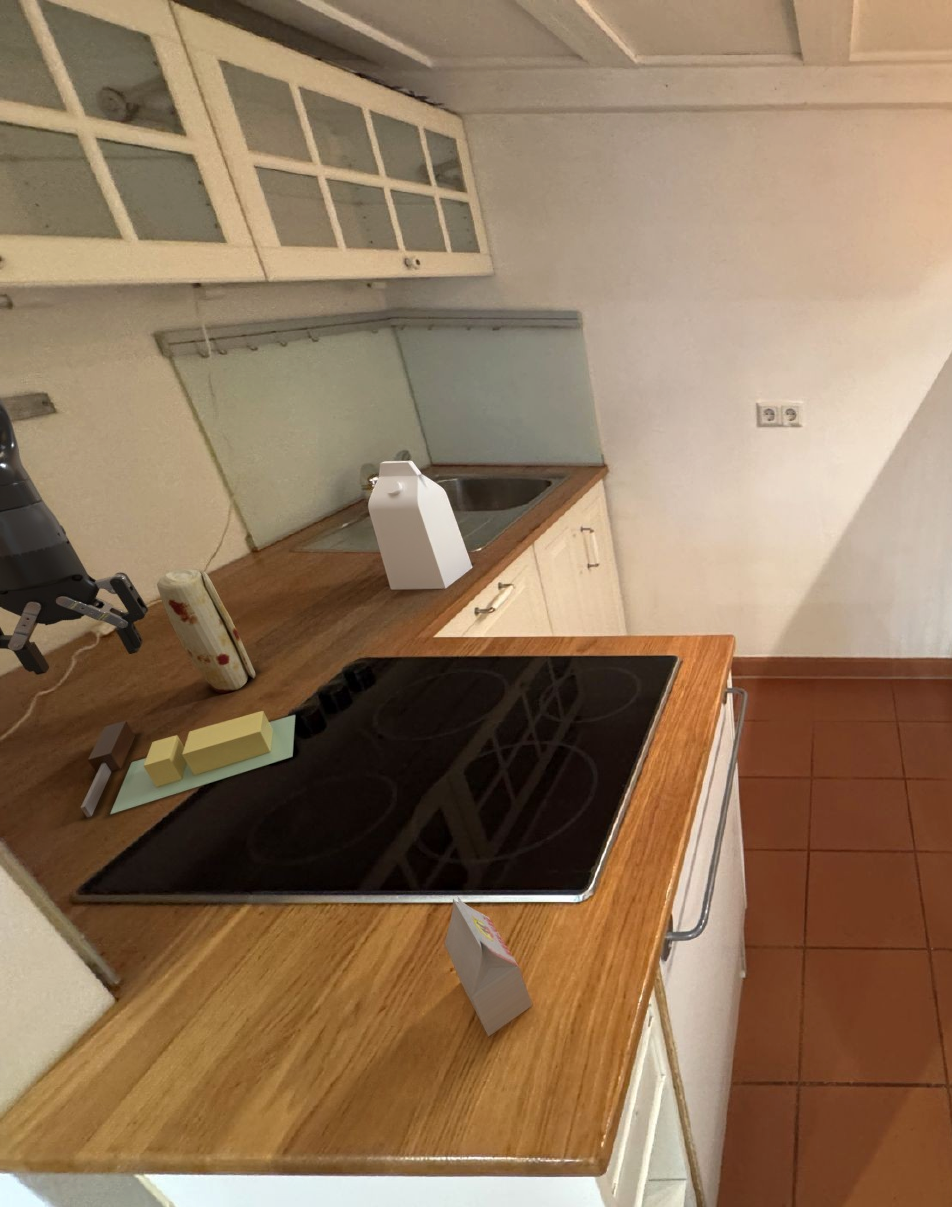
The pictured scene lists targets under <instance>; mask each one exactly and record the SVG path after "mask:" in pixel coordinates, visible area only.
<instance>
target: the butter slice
mask: <svg viewBox="0 0 952 1207" xmlns="http://www.w3.org/2000/svg"><path fill="white" fill-rule="evenodd" d="M184 747H185V745H184V744H183V743H182V741H181V739H180V738H179V736H178V734H176V735H172V736H169V737H165V738H161V739H157V740H155V741H152V743H151V745H150V748H149V750H148V752H147V756H146V757H145V758H146V760H145V763H144V765H143V766H144V768H145V769H146V771H147V773H148V774H149V776H150V778H151V779H152V781H153V782H154V784H155V786H156V787H159V786H162V785H165V784H168V783H172V782H175V781H178V780H181V779H182V777H183V774H184V770H185V767H186V763H187V762H186V760H185V758H184V757H183V755H182V753H183V750H184Z"/></svg>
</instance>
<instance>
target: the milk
mask: <svg viewBox="0 0 952 1207" xmlns="http://www.w3.org/2000/svg"><path fill="white" fill-rule="evenodd" d="M378 476H379V477H378V478H377V480H376V483H375V485H374V487H373V489H372V492H371V494H370V496H369V499H368V503H367V509H368V513H369V517H370V520H371V524H372V528H373V531H374V534H375V538H376V542H377V545H378V549H379V553H380V556H381V560H382V563H383V567H384V570H385V574H386V578H387V581H388V585H389V588H390V590H392V591H393V590H394V591H395V590H438V589H439V590H441V589H442V590H443V589H448V588H449V587H450V586H451V585H452V584H454V583H455V582H456V581H458V580H459V579H460V578H462V577H463V576H464V575H465V574H467V573H468V572H469V571H471V570H472V569H473V565H472V562H471V559H470V557H469V556H470V555H469V553H468V550H467V548H466V545H465V542H464V539H463V537H462V534H461V531H460V528H459V525H458V522H457V519H456V516H455V514H454V510H453V508H452V506H451V502H450V499H449V497H448V493H447V492H446V490H445V489H444V487H442V486H441V485H440V484H438V483H436V482H435V481H433V480H432V479H431V478H429V477H427V476H426V475H424V474H422V472H421V471H420V470H419V468H418V466H416V464H415V463H414V462H413V460H389V461H387V460H386V461H382V462H379V474H378Z"/></svg>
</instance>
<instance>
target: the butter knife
mask: <svg viewBox="0 0 952 1207" xmlns="http://www.w3.org/2000/svg"><path fill="white" fill-rule="evenodd" d="M135 737H136V735H135V733H134V731H133V730H132V728H131V726H130V725H129V722H127V720H123V721H120V722H116V723H111V724H109V725H104V727H103V729H102V731H101V733H100V735H99V736H98V739H97V740H96V743H95V744H94V747H93V748H92V750H91V753H89V754H90V755H89V756H88V758H87V761H88V763H89V764H90V766H91V767H92V769H93V770H94V771H95V773H96V774H95V776H94V779H93V781H92V783H91V785H90V786H89V789H88V791H87V793H86V795H85V798H84V800H83V801H82V804H81V806H80V809H81V811H82V812H83V813H84V815H85V816H86V818H90V817H92V816H93V815H94V812H95V810H96V807H97V805H98V803H99V800H100V798H101V797H102V794H103V791H104V790H105V787H106V785H107V783H108V781H109V779H110V776H111V774H112V772H115V771H119V770H122V767H123V765H124V763H125V760H126V758H127V756H128V754H129V751H130V749H131V747H132V744H133V742H134V739H135Z"/></svg>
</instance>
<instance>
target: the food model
mask: <svg viewBox="0 0 952 1207" xmlns="http://www.w3.org/2000/svg"><path fill="white" fill-rule="evenodd" d="M156 587H157V590H158V593H159V596H160V599H161V601H162V604H163V606H164V609H165V611H166V614H167V615H166V616H167V618H168V620H169V622H170V624H171V626H172V628H173V630H174V632H175V634H176V636H177V639H178V640H179V643H180V645H181V647H182V649H183V650H184V652H185V653H186V655H187V657H188V658H189V659H190V661H191V663H192V664H193V666H194V668H196V670H197V671H198V672H199V673H200V674H201V676H202V677H203V678H204V679H205V681H206V682H207V684H208V685H209V686H210V688H211V689H212V690H213V691H215V692H216V693H219V694H227V693H230V692H233V691H237V690H239V689H241V688H242V687H243V686H245V684H246V683H247V681H248V679H249V676H250V678H252V679H255V677H256V672H255V669H254V667H253V664H252V662H251V660H250V657H249V655H248V653H247V650H246V648H245V646H244V644H243V641H242V639H241V636H240V634H239V632H238V630H237V627H236V626H235V623H234V622H233V619H232V617H231V615H230V613H229V611H228V610H227V608H226V606H225V605H224V603H223V601H222V599H221V598H220V595H219V594H218V591H217V590H216V588H215V586H214V584H213V582H212V580H211V578H210V576H209V574H208V573H207V572H206V571H205V570H203V569H200V568H199V569H197V568H194V569H177V570H173V571H168V572H166V573H165V574H164V575H162V576H161V577H160V578H159V579H158V581H157V583H156Z"/></svg>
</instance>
